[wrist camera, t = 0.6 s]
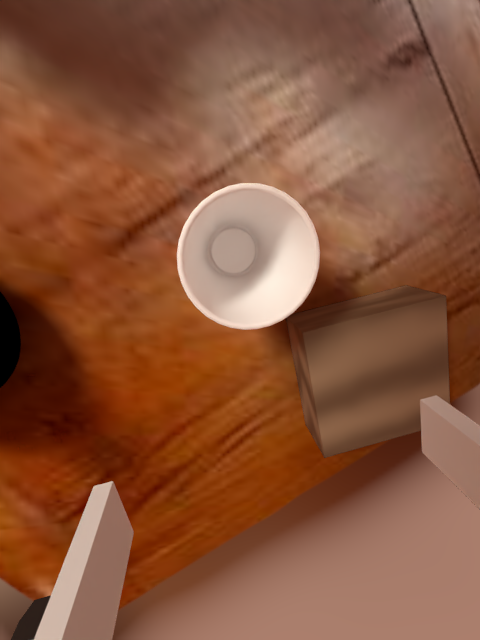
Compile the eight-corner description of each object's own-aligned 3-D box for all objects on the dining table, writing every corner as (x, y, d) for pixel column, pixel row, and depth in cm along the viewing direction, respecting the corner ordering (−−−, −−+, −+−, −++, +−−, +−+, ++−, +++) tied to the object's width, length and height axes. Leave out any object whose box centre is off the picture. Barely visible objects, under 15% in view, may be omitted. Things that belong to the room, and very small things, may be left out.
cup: (294, 216, 32) (341, 209, 22) (264, 309, 35) (294, 343, 24) (197, 184, 31) (197, 160, 20) (172, 285, 33) (161, 311, 22)
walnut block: (285, 315, 35) (302, 332, 29) (406, 285, 36) (446, 295, 30) (305, 424, 39) (324, 457, 33) (414, 394, 40) (450, 422, 34)
